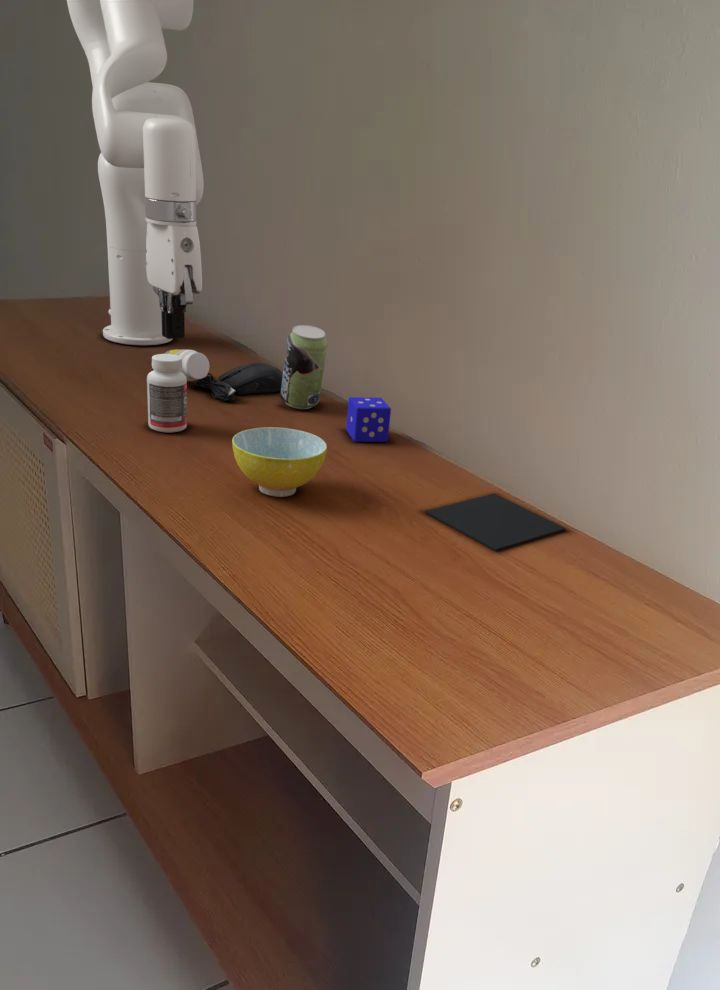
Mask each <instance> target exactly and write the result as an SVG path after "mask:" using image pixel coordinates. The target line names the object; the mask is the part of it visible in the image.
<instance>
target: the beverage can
mask: <svg viewBox="0 0 720 990" xmlns="http://www.w3.org/2000/svg"><path fill="white" fill-rule="evenodd" d="M328 345H329V341H328V338H327V336H326V332H325V331H324V330H323V329H321V328H320V327H317V326H314V325H309V324H298V325H295V326H293V327H292V330H291V331H290V333H289V334H288V335H287V339H286V347H285V355H284V363H283V371H282V373H283V378H282V385H281V391H280V393H279V396H280V399H281V400H282V402H283V403H285V404H286V405H287V406H288V407H290V408H293V409H296V410H309V409H311V408H313V407H315V406H317V405H318V404H319V403H320V396H321V389H322V383H323V376H324V371H325V365H326V358H327V351H328Z"/></svg>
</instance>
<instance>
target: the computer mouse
mask: <svg viewBox="0 0 720 990" xmlns="http://www.w3.org/2000/svg"><path fill="white" fill-rule="evenodd" d="M282 378H283V371H281V369H279V368H278V367H277V366H275V365H272V364H270V363H266V362H252V363H247V364H243V365H240V366H237V367H234V368H232V369H230V370H228V371H226V372H224V373H222V374H221V375H219V376H218V379H216V378H215V376H214V374H212V373H210V372H208V374H207V375H206V376H205V377H204V378H202V379H198V380H196V381H194V383H195V385H196V386H198V387H201V388H204V389H208V390H210V392H211V397H212V399H215V400H220V401H223V402H234V401H235V399H236V395H247V394H263V393H278V392H281V385H282Z"/></svg>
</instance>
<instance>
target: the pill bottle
mask: <svg viewBox="0 0 720 990" xmlns="http://www.w3.org/2000/svg"><path fill="white" fill-rule="evenodd" d="M181 367H182V358H181V357H180V356H177V355H173V354H165V353H159V354H153V355H152V356H151V368H152V369H153V370H151V371H150V372H148V374H147V376H146V395H147V396H146V397H147V398H146V399H147V423H148V427H149V428H150V429H151V430H153V431H156V432H159V433H170V434H171V433H178V432H182V431H184V430H185V429H187V426H188V381H187V378H186V376H185V375H184V374H183V373H182V372H180V370H181Z"/></svg>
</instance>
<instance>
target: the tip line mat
mask: <svg viewBox="0 0 720 990" xmlns="http://www.w3.org/2000/svg"><path fill="white" fill-rule="evenodd" d="M424 513H425V514H426V515H428V516H430V517H432V518H434V519H436V520H437V521H439V522H441V523H443V524H444V525H446V526H449V527H450V528H452V529H454V530H456V531H458V532H459V533H462V534H463V535H465V536H467V537H469V538H470V539H472V540H474V541H475V542H477V543H480V544H481V545H483V546H485V547H487V548H489V549H490V550H492V551H495V552H498V551H502V550H504V549H509V548H511V547H514V546H517V545H518V546H519V545H521V544H525V543H528V542H531V541H535V540H539V539H541V538H545V537H548V536H552V535H555V534H558V533H561V532H564V531H566V527H564V526H562V525H560V524H558V523H555V522H554V521H552V520H549V519H548V518H546V517H544V516H542V515H539V514H537V513H535V512H533V511H531V510H529V509H527V508H525V507H523V506H521V505H519V504H517V503H515V502H513V501H511V500H509V499H507V498H505V497H503V496H501V495H499V494H497V493H492V494H487V495H483V496H480V497H475V498H471V499H466V500H463V501H459V502H456V503H451V504H447V505H443V506H439V507H435V508H432V509H427V510H425V512H424Z"/></svg>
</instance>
